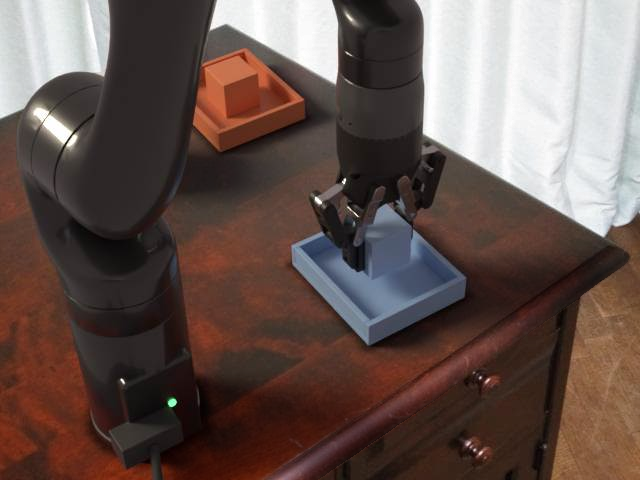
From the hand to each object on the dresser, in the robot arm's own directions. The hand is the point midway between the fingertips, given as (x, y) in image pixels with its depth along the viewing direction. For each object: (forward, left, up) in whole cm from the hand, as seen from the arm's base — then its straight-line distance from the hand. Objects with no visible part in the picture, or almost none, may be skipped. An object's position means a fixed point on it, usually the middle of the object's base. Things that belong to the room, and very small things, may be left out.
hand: (377, 255), depth 110 cm
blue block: (0, 0, 0) cm, 0 cm away
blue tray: (0, 0, -3) cm, 3 cm away
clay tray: (+33, -3, -3) cm, 33 cm away
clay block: (+33, -3, -3) cm, 33 cm away
